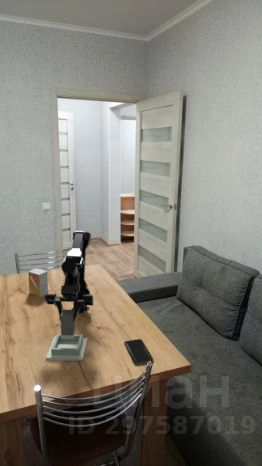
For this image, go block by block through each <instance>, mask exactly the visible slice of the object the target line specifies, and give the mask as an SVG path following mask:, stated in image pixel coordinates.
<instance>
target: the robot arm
mask: <svg viewBox="0 0 262 466" xmlns="http://www.w3.org/2000/svg"><path fill="white" fill-rule="evenodd" d="M91 241H92V234H91V233H90V232H89V231H85V230H74V232H72V245H71V249H70V250H69V251H67V253H66V255H65V256H64V257H65V259H64V258H63V262H62V264H61V266H60V268H61V271H62V273H63V276H64V283H63V285H60V287H61V288H60V290H61V291H60V295H61V296H58V295H57V294H56V293H47V294H45V295H44V302H45V303H46V304H47V305H54V307H56V309H57V310H58V311H57V312H58V316H59V321H60V322H61V313H62V311H63V310H64V309H63V308H64V306H63V303H64V302H65V303H73V307H72V308H71V310H75V311H74V316H73V321H75V322H76V320H77V317H78V314H83V313H85V312H86V311H88V310H89V309H90V307H89V306H94V303H95V302H94V295H92V294H91V292H90V289H89V287H88V285H89V284H88V283H87V280H86V277H85V275H86V261H87V260H86V259H87V258H86V257H87V249H88V248H89V246H90V244H91V243H90V242H91Z"/></svg>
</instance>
